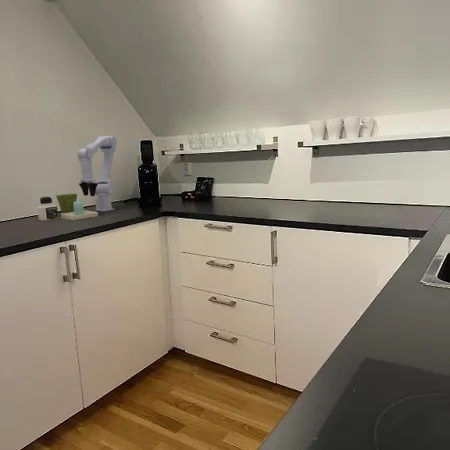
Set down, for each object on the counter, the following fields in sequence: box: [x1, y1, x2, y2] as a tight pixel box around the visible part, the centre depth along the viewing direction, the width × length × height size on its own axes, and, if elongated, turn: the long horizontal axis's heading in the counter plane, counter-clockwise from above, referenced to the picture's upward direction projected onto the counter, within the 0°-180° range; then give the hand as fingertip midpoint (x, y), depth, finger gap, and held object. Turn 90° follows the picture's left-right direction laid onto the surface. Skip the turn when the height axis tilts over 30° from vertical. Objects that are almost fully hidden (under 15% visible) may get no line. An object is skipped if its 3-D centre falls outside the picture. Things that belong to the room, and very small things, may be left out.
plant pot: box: [55, 193, 78, 214], centre depth 249 cm, size 12×12×11 cm
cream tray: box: [60, 210, 99, 222], centre depth 236 cm, size 14×14×2 cm
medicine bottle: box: [36, 196, 59, 222], centre depth 235 cm, size 7×7×12 cm
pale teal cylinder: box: [73, 200, 84, 215], centre depth 236 cm, size 5×5×8 cm
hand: (89, 195), depth 244 cm, fingers open, 7 cm apart
